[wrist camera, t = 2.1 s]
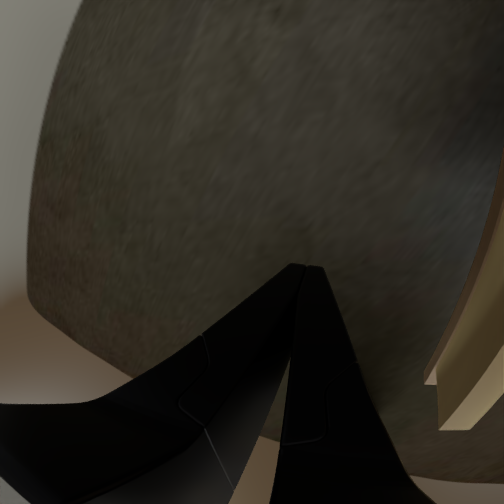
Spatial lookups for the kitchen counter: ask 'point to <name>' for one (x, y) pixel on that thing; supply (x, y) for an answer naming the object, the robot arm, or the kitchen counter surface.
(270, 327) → the robot arm
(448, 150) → the kitchen counter surface
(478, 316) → the lid
